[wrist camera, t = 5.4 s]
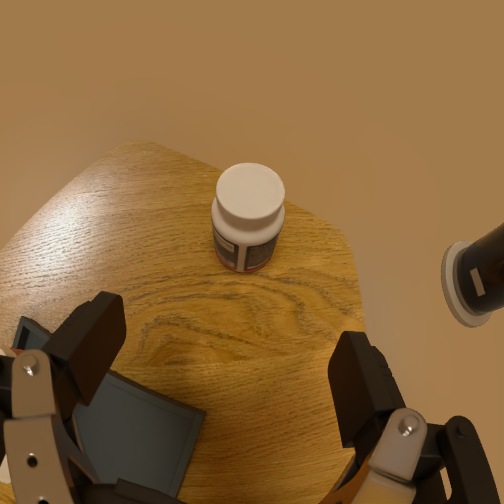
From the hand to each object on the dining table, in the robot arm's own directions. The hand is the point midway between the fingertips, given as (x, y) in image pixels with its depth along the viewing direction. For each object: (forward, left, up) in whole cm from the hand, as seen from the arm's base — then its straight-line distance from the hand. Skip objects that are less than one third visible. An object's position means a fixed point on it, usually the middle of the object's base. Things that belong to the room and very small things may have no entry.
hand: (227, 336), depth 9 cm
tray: (+11, +14, -15) cm, 24 cm away
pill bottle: (+2, -10, -16) cm, 19 cm away
